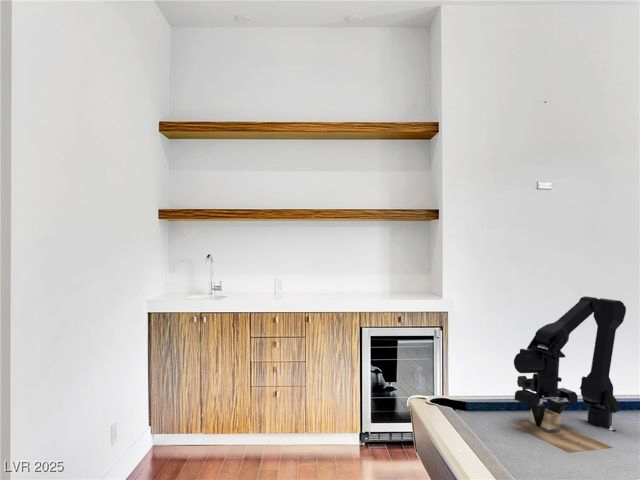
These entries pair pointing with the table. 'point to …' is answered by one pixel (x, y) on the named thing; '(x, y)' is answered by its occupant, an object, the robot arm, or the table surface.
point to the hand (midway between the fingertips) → (544, 425)
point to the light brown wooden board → (563, 438)
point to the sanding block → (548, 421)
